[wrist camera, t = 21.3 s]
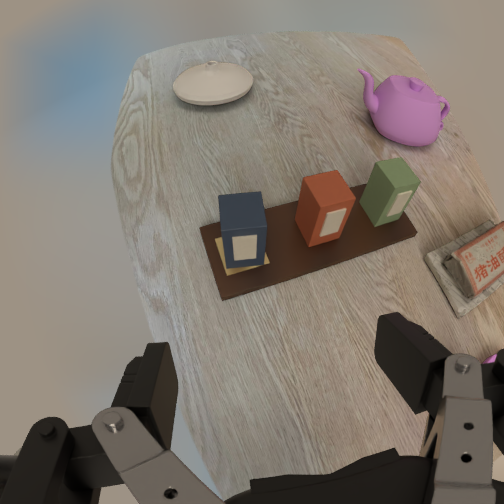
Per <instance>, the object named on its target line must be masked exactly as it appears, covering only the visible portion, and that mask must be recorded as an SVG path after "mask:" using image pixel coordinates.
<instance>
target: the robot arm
mask: <svg viewBox="0 0 504 504" xmlns="http://www.w3.org/2000/svg"><path fill="white" fill-rule="evenodd" d="M374 353H375V359H376V361H377V363H378V365H379V366H380V367H381V369H382V370H383V371H384V373H385V374H386V375H387V377H388V378H389V379H390V381H391V382H392V383H393V385H394V386H395V388H396V389H397V390H398V392H399V393H400V394H401V396H402V397H403V398H404V400H405V401H406V402H407V404H408V405H409V406H410V408H411V409H412V411H413V412H414V413H415V415H416V414H418V413H421V412H424V411H426V410H427V411H428V412H429V414H428V417H427V420H426V426H425V431H424V436H423V441H422V445H421V450H420V454H419V456H399V454H398V452H397V451H396V449H395V448H392V449H389V450H386V451H383V452H380V453H376V454H373V455H370V456H367V457H363V458H361V459H359V460H357V461H355V462H353V463H352V464H350V465H348V466H346V467H344V468H342V469H339V470H337V471H335V472H333V473H331V474H325V475H282V476H275V477H268V478H260V479H251V480H250V486H251V489H250V490H247V491H244V492H242V493H239V494H237V495H234V496H233V497H231V498H229V499H227V500H226V501H224V502H223V501H222V500H221V499H220V498H219V497H218V496H217V495H216V494H215V493H213V492H212V491H211V490H210V489H209V488H208V487H207V486H206V485H205V484H204V483H203V482H202V481H201V480H200V479H199V478H198V477H197V476H196V475H195V474H193V472H191V470H190V469H189V468H188V467H187V466H186V465H184V463H183V462H182V461H181V460H180V459H179V458H178V457H177V456H176V455H175V454H174V453H173V452H172V451H171V450H170V448H171V440H172V432H173V424H174V417H175V410H176V403H177V396H178V379H177V374H176V370H175V366H174V362H173V358H172V354H171V349H170V346H169V343H168V342H160V343H148V344H147V347H146V349H145V352H144V355H143V357H142V356H141V357H135V358H134V359H133V360H132V361H131V362H130V363H129V364H128V365H127V367H126V369H125V372H124V376H123V377H122V379H121V383H120V384H119V387H118V389H117V392H116V395H115V397H114V400H113V402H112V405H111V408H107V409H105V410H103V411H101V412H99V413H98V414H97V415H96V416H95V417H94V419H93V421H92V424H91V425H87V426H82V427H75V428H68V426H67V424H66V423H65V421H63V420H62V419H60V418H58V417H47V418H44V419H41V420H39V421H38V422H36V423H35V424H34V425H33V426H32V428H31V429H30V431H29V433H28V435H27V437H26V440H25V442H24V444H23V446H22V448H21V450H20V453H19V455H18V456H16V455H0V504H98V503H99V497H100V491H101V487H107V486H113V485H119V484H126V486H127V487H128V489H129V490H130V491H131V493H132V494H133V496H134V497H135V498H136V500H137V501H138V503H139V504H504V482H501V481H497V480H494V479H492V465H493V441H494V443H495V444H496V445H497V447H498V448H499V450H500V451H501V452H502V454H503V455H504V349H501V350H500V351H499V352H498V353H497V356H496V359H495V362H491V363H484V364H480V362H479V361H478V360H477V359H476V358H474V357H473V356H470V355H467V354H452V353H451V352H450V351H449V350H447V349H446V348H445V347H444V346H443V345H442V344H441V343H440V342H439V341H437V340H436V339H434V337H433V336H432V335H431V334H428V332H427V331H426V330H425V329H424V328H423V327H422V326H420V325H418V324H415V323H413V322H411V321H408V320H407V319H406V318H404V317H403V316H402V315H401V314H400V313H399V312H395V313H390V314H385V315H381V316H379V318H378V323H377V332H376V340H375V349H374Z"/></svg>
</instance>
